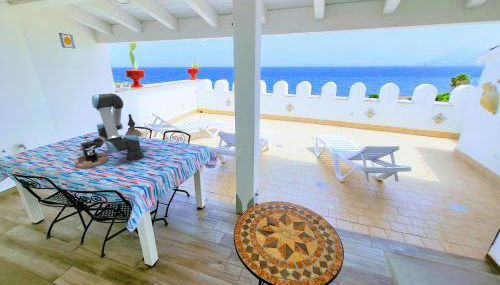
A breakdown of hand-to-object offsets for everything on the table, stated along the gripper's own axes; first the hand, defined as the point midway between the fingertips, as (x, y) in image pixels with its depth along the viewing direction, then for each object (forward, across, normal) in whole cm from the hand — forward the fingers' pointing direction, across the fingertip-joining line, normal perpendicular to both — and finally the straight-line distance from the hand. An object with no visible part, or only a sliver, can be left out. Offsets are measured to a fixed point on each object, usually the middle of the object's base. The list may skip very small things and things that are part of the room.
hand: (85, 149), depth 181 cm
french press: (-5, 0, -13) cm, 14 cm away
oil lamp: (-32, -30, -15) cm, 46 cm away
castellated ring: (-5, 0, -15) cm, 16 cm away
